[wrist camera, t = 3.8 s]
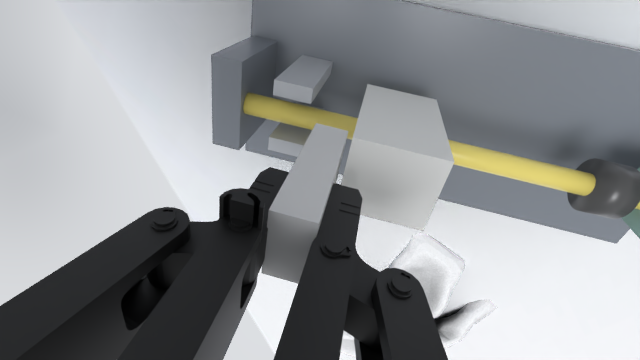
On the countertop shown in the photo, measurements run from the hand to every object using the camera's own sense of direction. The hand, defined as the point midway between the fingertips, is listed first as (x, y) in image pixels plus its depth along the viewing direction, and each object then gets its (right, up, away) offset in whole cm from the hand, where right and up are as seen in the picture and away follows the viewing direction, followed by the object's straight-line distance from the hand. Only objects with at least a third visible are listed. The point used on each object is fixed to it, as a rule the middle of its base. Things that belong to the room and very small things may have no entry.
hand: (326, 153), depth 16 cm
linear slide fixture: (+9, +3, +7) cm, 12 cm away
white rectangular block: (+4, +2, +5) cm, 7 cm away
